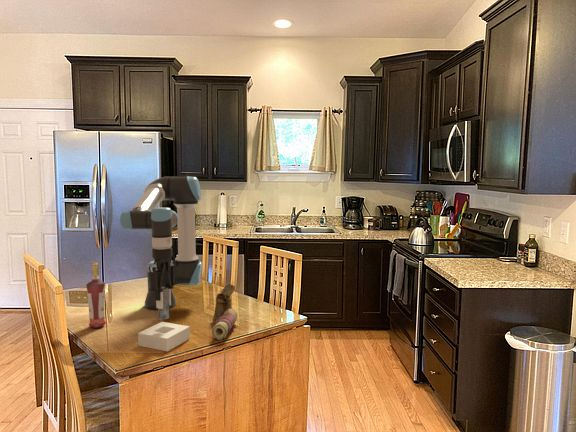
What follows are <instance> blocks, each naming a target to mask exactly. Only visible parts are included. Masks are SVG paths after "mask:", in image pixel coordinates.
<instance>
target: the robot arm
mask: <svg viewBox="0 0 576 432" xmlns="http://www.w3.org/2000/svg"><path fill="white" fill-rule="evenodd" d="M201 199H202V190H201V184H200V181H199V178H197V177H196V176H189V175H188V176H163V177H159V178H157V179H155V180H153V181H151V182H150V183H148V184H147V185H146V187H145V188H144V194H143V195H142V196H141V198H140V199H139V200H138V202H136V204H135V205H134V206H133V208H132V209H131V210H123V211H122V212H121V213H120V216H119V223H120V226H121V228H122V229H124V230H151V247H152V251H151V253H152V254H151V256H152V258H153V259H154V260H151V261H150V262H148V263H147V271H146V274H147V276H146V277H147V278H146V279H147V294H146V296H145V301H144V308H145V309H147V310H151V311H152V310H153V311H158V308H159V309H163V292H161V289H162V287H168V288H169V309H171V308H174V307H175V306H176V305H177V299H176V297H175V294H174V291H173V289H174V286H195V285H199V283H200V282H201V280H202V279H201V278H202V273H203V261H200V257H199V256H198V255H197V250H196V248H197V247H196V207H197V206H198V204H199V201H201ZM162 201H173V205H174V206H175V207H176V211H177V212H176V211H174V210H172V209H171V207H166V206H165V207H157V206H158V204H159V203H160V204H161V202H162ZM176 226H177V256H176V257H175V259H174V260H172V258H173V247H172V246H173V229H175V227H176Z"/></svg>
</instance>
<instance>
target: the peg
mask: <svg viewBox="0 0 576 432" xmlns="http://www.w3.org/2000/svg"><path fill="white" fill-rule="evenodd" d="M161 292H163V309H159V308H158V310H157V311H158V320H160V321H161V320H163V321H164V320H168V319H170V308H169V288H168V287H162V289H161Z"/></svg>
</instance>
